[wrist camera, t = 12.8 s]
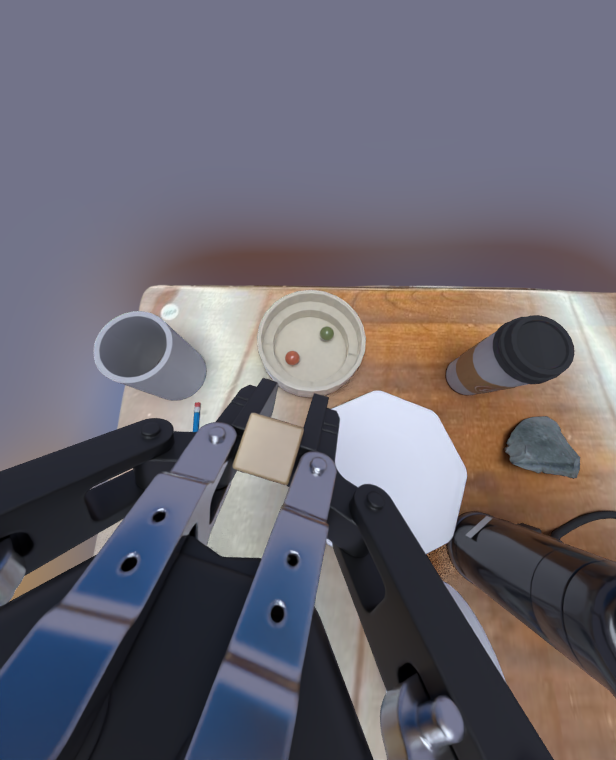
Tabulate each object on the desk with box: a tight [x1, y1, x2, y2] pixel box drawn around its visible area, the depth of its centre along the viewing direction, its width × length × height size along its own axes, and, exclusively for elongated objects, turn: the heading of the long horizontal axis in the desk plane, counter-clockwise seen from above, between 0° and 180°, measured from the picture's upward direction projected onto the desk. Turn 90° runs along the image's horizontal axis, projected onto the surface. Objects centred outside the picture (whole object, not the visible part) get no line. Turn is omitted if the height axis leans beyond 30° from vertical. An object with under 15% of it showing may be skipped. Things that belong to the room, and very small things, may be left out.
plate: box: [326, 391, 467, 554], centre depth 40 cm, size 24×24×2 cm
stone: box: [504, 416, 580, 479], centre depth 40 cm, size 11×4×10 cm
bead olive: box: [320, 326, 334, 341], centre depth 44 cm, size 2×2×2 cm
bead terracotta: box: [285, 351, 300, 366], centre depth 43 cm, size 2×2×2 cm
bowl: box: [257, 290, 366, 398], centre depth 42 cm, size 16×16×6 cm
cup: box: [93, 311, 206, 400], centre depth 37 cm, size 9×9×12 cm
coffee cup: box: [446, 315, 574, 395], centre depth 37 cm, size 8×8×15 cm
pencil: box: [193, 403, 200, 432], centre depth 40 cm, size 1×17×1 cm, turn 1°
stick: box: [232, 413, 304, 485], centre depth 16 cm, size 2×2×16 cm
